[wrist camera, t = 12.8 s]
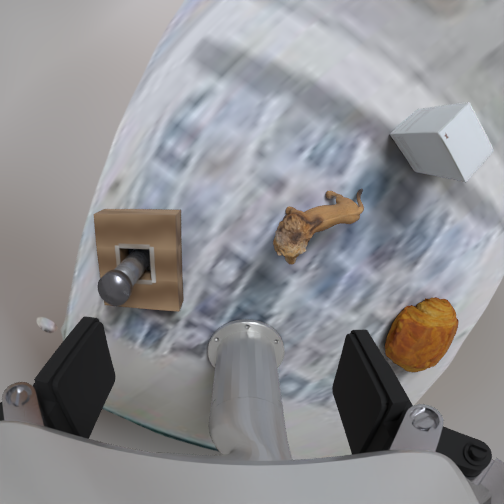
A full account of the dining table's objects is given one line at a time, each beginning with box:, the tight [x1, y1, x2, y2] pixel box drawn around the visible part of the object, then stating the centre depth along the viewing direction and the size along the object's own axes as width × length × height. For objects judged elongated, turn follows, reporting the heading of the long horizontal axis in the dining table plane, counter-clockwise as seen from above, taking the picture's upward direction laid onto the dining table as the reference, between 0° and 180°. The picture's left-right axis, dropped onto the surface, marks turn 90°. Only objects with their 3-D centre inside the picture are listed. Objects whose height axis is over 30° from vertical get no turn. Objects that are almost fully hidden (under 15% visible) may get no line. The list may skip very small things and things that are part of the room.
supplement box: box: [390, 102, 494, 182], centre depth 32 cm, size 7×7×13 cm
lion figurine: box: [273, 189, 364, 264], centre depth 38 cm, size 15×5×9 cm, turn 119°
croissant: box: [385, 297, 458, 372], centre depth 46 cm, size 14×16×8 cm
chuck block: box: [94, 209, 183, 311], centre depth 42 cm, size 14×12×4 cm
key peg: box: [98, 249, 150, 306], centre depth 38 cm, size 4×4×12 cm
